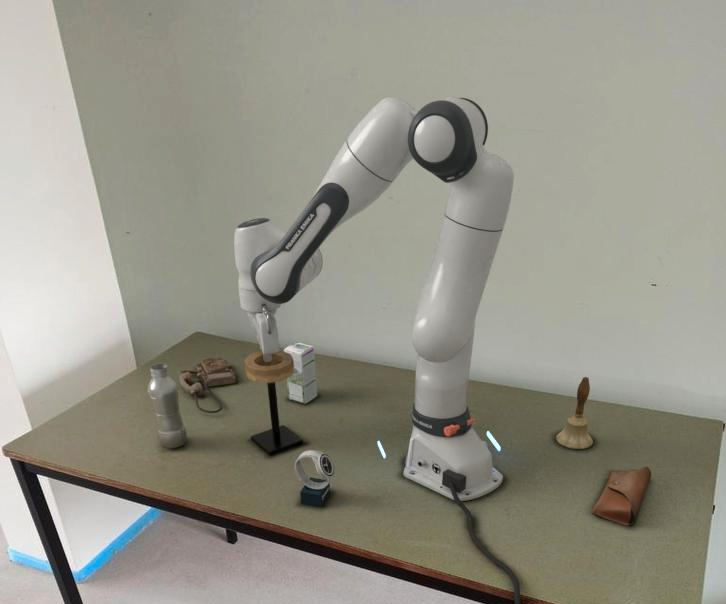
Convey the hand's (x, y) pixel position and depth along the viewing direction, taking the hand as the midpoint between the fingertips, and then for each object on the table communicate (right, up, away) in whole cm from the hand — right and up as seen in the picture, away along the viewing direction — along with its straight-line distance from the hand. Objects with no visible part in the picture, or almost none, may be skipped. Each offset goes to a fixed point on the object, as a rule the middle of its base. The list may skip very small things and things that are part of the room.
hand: (266, 357), depth 151 cm
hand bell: (+71, -19, +6) cm, 74 cm away
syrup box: (+6, -7, +27) cm, 28 cm away
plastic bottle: (-23, -20, +7) cm, 31 cm away
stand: (+1, -19, +7) cm, 20 cm away
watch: (+12, -31, -12) cm, 36 cm away
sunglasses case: (+75, -31, -14) cm, 82 cm away
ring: (+1, -4, -2) cm, 5 cm away
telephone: (-20, -3, +33) cm, 39 cm away
